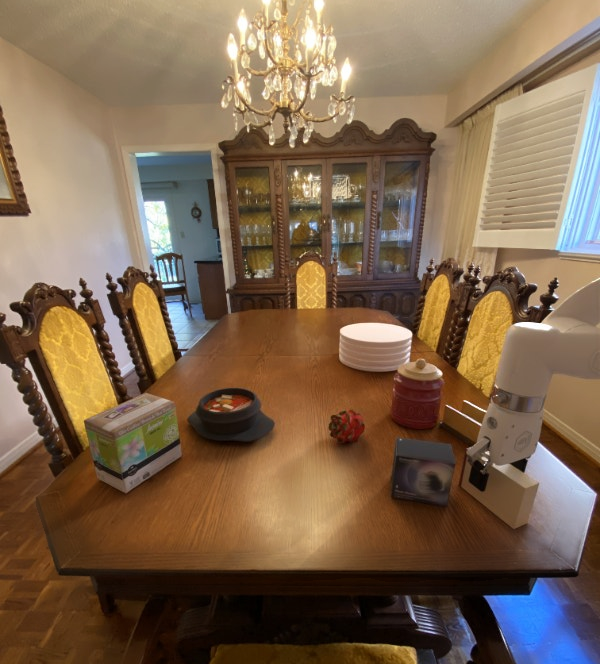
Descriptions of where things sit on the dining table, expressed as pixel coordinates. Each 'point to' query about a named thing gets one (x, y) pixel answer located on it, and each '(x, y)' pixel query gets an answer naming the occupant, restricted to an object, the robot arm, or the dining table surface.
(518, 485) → the book
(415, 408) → the kitchen canister
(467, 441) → the rack
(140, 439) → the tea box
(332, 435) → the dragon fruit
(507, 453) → the robot arm
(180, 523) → the dining table surface
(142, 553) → the dining table surface
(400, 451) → the small box
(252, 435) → the casserole
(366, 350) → the plate stack
